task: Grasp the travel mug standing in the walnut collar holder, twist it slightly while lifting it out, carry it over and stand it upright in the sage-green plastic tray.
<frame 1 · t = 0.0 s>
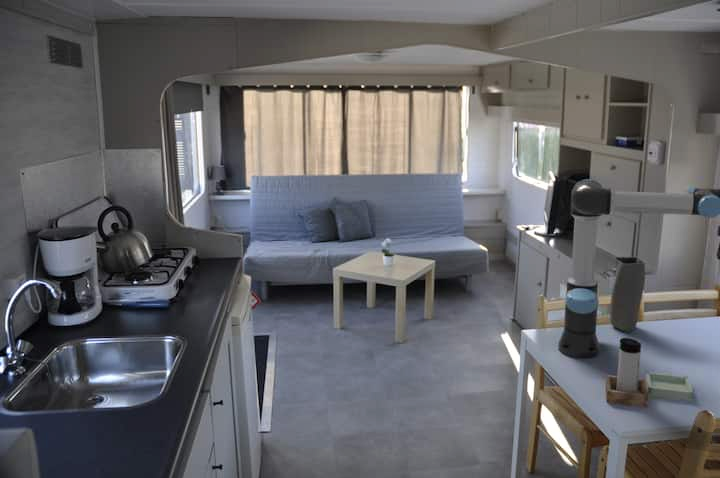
vase: (624, 328, 256), on the table
travel mug: (625, 396, 200), resting in holder
tray: (667, 390, 203), on the table
holder: (625, 396, 199), on the table
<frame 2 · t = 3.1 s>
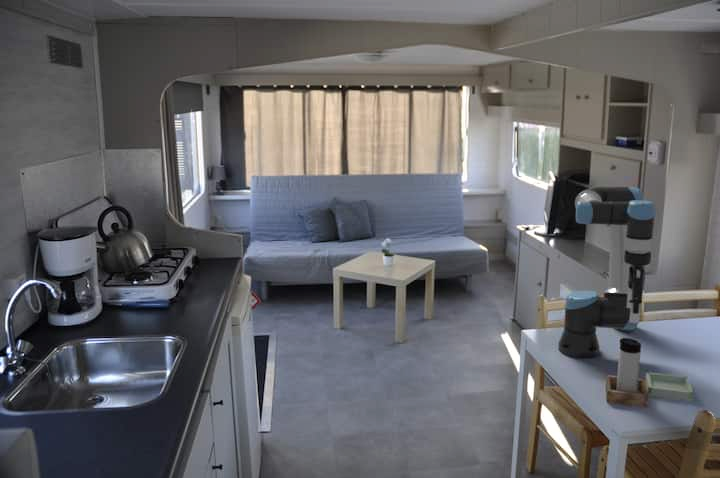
hand: (632, 315, 193), 29 cm above the table, fingers open, 13 cm apart
nothing on the table moved.
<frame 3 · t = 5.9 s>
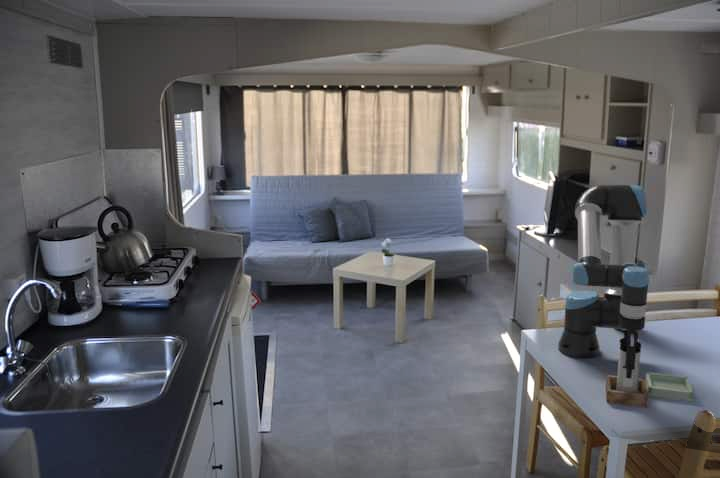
hand: (626, 381, 198), 5 cm above the table, fingers closed on travel mug, 6 cm apart
travel mug: (625, 396, 199), resting in holder, touching gripper
everything else where it was.
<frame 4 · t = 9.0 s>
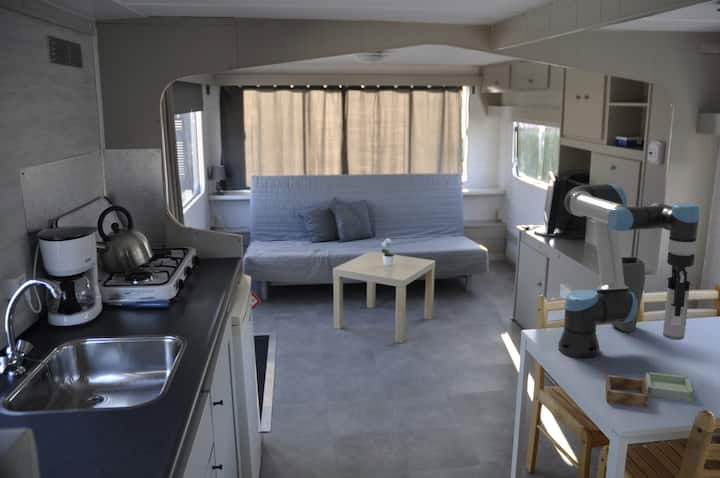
hand: (674, 320, 197), 25 cm above the table, fingers closed on travel mug, 6 cm apart
travel mug: (672, 337, 198), point 19 cm above the table, touching gripper
everything else where it was.
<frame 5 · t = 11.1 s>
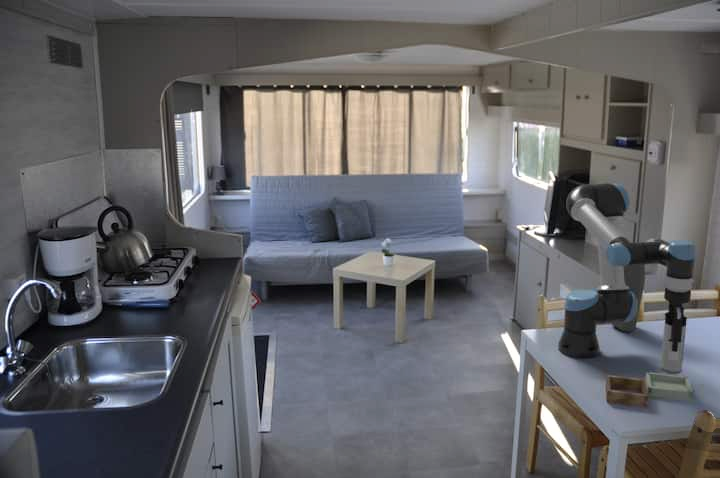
hand: (671, 355, 200), 13 cm above the table, fingers closed on travel mug, 6 cm apart
travel mug: (670, 371, 201), point 7 cm above the table, touching gripper
everything else where it was.
when the fingers open (8 cm above the table, at t = 12.5 s): travel mug drops 1 cm, resting on tray.
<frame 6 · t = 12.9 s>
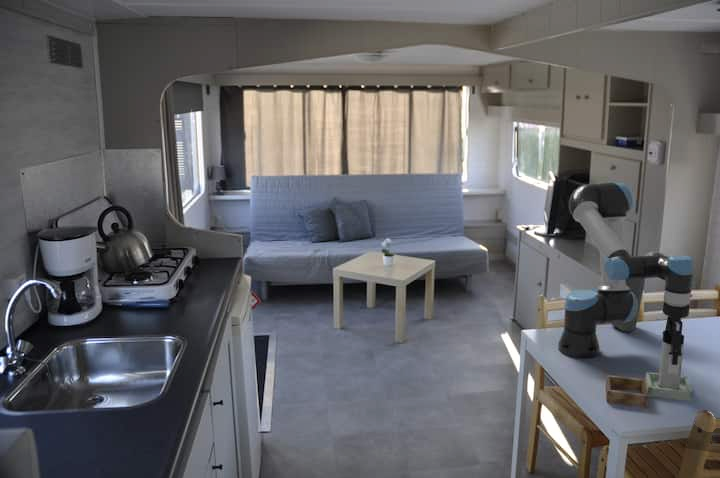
hand: (670, 364, 200), 9 cm above the table, fingers open, 12 cm apart
travel mug: (668, 388, 202), point 1 cm above the table, touching tray
everything else where it was.
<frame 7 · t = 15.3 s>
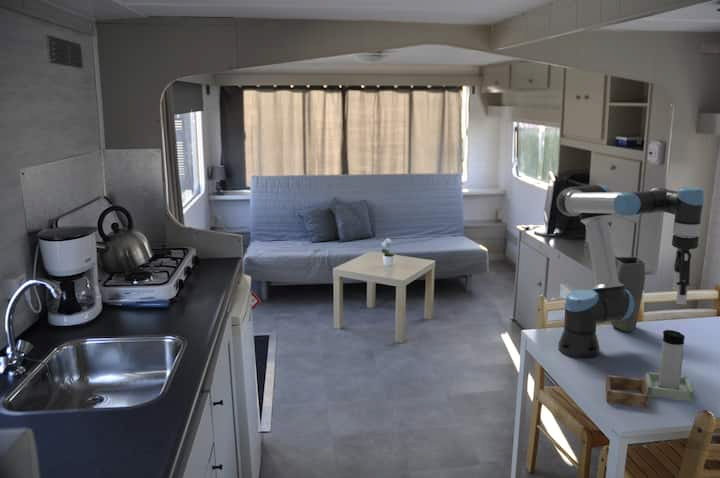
hand: (678, 297, 201), 31 cm above the table, fingers open, 13 cm apart
nothing on the table moved.
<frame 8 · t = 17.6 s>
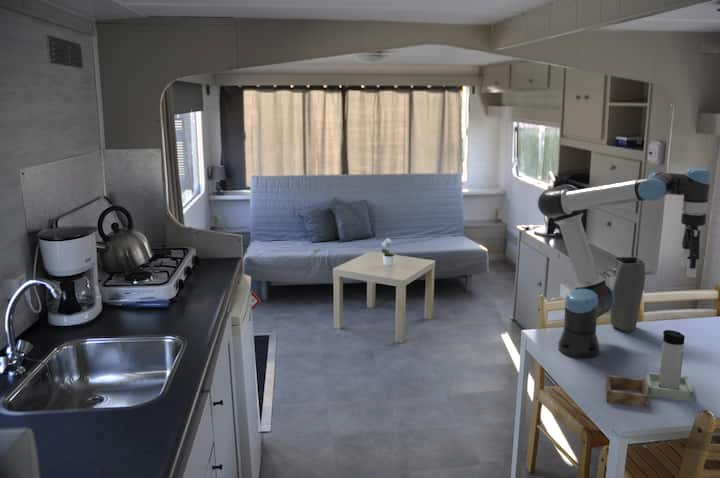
hand: (688, 271, 216), 35 cm above the table, fingers open, 13 cm apart
nothing on the table moved.
at the end: travel mug inside the target area on the tray (0.1 cm from its centre), point 0.8 cm above the tray's base; travel mug tilted 0°; the gripper is holding nothing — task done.
